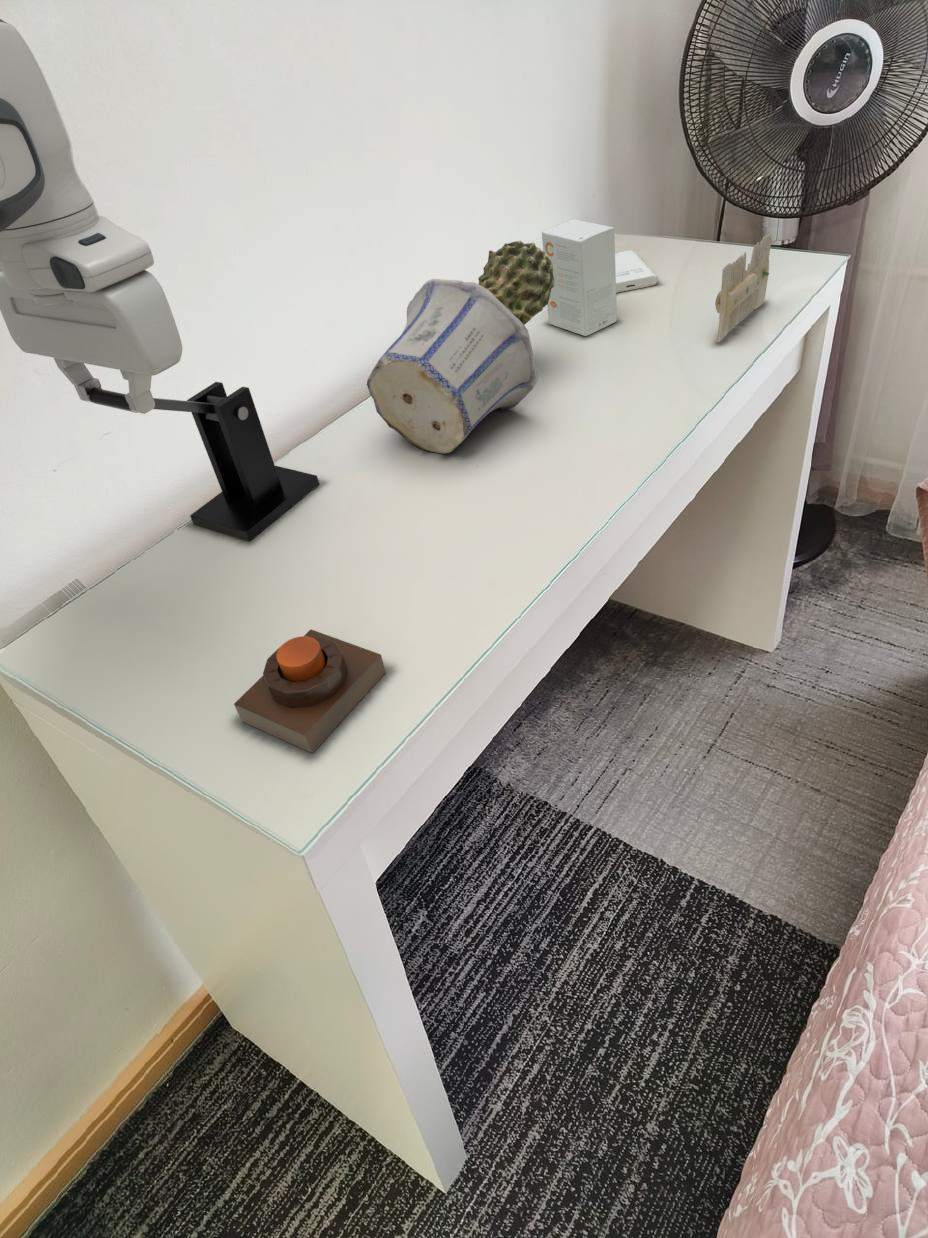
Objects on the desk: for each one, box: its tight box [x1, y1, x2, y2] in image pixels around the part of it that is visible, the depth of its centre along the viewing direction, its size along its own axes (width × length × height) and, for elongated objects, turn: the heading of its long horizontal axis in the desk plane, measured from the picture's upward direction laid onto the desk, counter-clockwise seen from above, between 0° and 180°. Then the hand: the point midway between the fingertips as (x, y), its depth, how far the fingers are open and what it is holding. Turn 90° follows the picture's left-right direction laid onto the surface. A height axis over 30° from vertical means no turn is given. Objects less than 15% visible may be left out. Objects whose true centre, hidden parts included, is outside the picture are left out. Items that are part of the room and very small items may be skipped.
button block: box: [233, 629, 387, 754], centre depth 71 cm, size 10×8×4 cm
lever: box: [90, 388, 226, 421], centre depth 85 cm, size 15×6×2 cm
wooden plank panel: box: [714, 233, 772, 343], centre depth 112 cm, size 15×2×10 cm, turn 144°
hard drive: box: [615, 249, 658, 294], centre depth 133 cm, size 2×8×12 cm
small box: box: [541, 218, 618, 337], centre depth 118 cm, size 8×6×13 cm
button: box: [276, 635, 325, 682], centre depth 69 cm, size 4×4×2 cm
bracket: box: [186, 381, 320, 542], centre depth 93 cm, size 12×9×14 cm
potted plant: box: [366, 240, 555, 455], centre depth 102 cm, size 18×18×30 cm
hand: (118, 404), depth 79 cm, fingers closed on lever, 6 cm apart
